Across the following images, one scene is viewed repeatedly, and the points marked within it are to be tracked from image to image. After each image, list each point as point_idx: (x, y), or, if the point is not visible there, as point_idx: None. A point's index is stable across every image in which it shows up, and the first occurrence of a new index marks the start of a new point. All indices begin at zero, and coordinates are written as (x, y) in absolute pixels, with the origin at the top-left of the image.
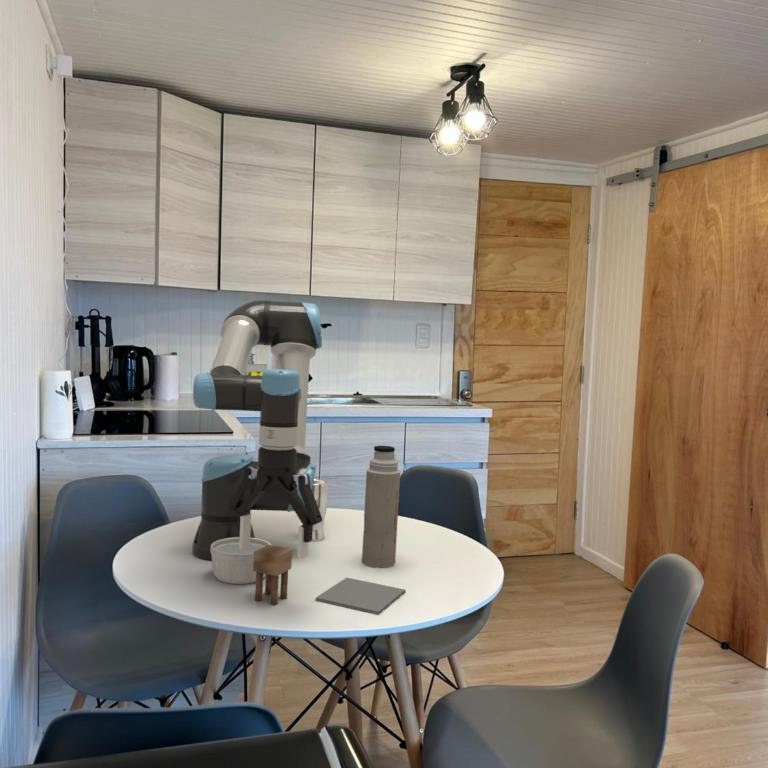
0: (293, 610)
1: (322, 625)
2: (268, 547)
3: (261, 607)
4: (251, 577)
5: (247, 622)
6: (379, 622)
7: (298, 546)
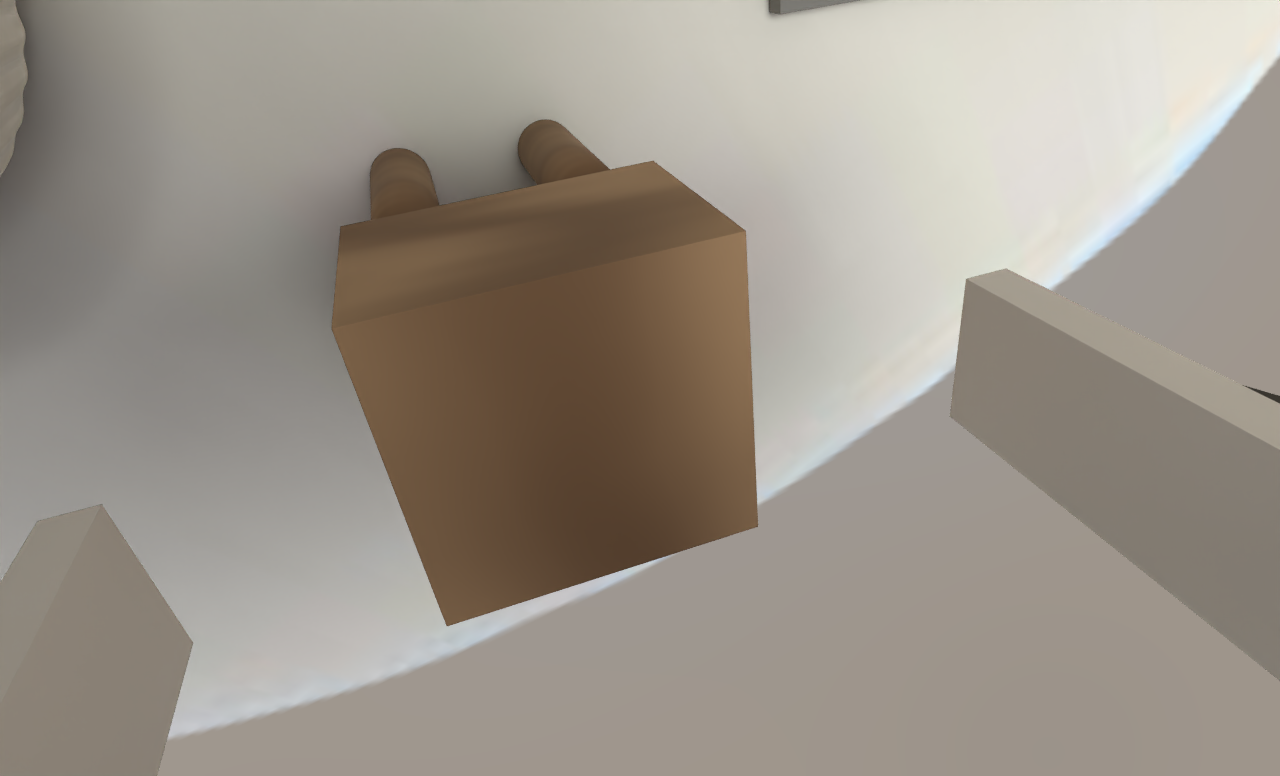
0: None
1: None
2: (443, 420)
3: None
4: (19, 107)
5: None
6: (1223, 46)
7: (1061, 500)
